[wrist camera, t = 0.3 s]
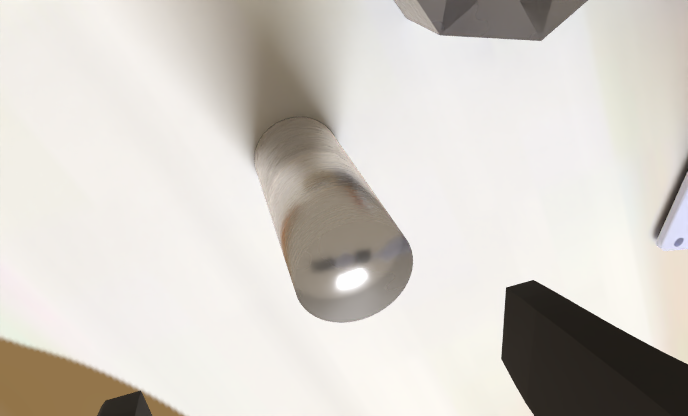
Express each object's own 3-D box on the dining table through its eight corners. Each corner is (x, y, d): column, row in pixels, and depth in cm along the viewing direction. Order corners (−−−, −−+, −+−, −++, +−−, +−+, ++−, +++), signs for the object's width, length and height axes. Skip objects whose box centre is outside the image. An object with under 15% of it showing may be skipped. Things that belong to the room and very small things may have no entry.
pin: (342, 117, 19) (422, 218, 13) (334, 193, 20) (402, 316, 14) (255, 116, 18) (298, 224, 12) (253, 197, 19) (290, 328, 13)
